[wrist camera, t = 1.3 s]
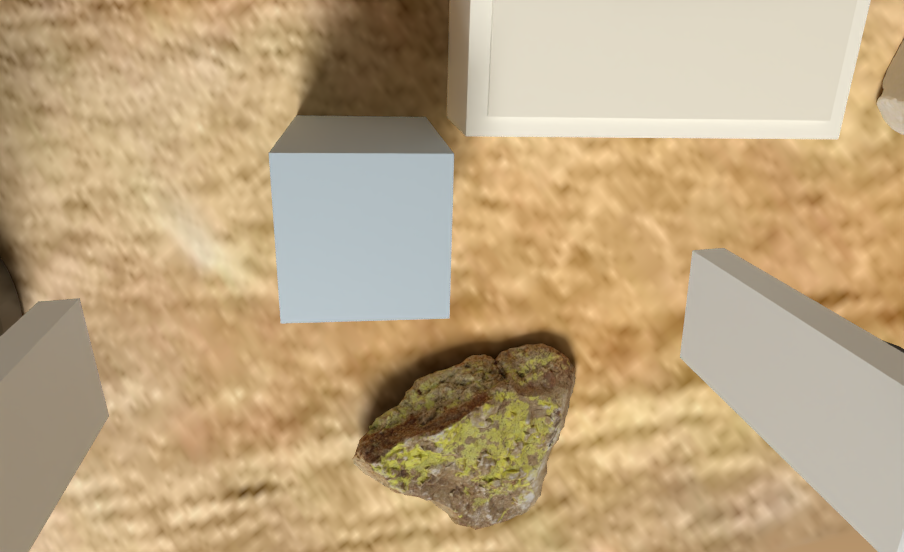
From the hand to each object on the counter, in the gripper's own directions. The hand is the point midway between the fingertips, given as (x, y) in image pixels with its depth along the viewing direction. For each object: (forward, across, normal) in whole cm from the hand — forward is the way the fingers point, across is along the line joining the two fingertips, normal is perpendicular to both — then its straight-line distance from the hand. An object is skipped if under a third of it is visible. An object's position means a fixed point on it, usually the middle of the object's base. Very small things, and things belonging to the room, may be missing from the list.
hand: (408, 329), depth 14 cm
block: (+19, 0, -1) cm, 19 cm away
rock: (+19, +5, -16) cm, 25 cm away
